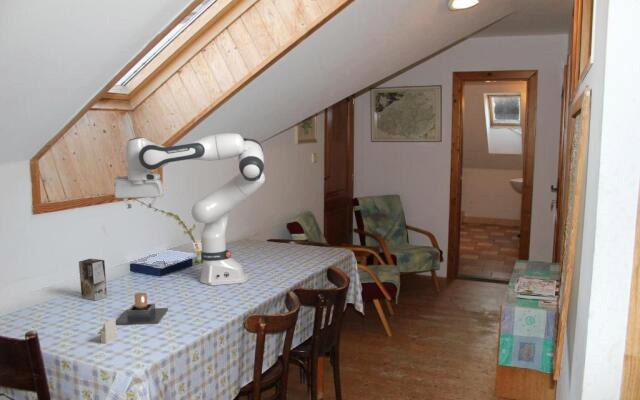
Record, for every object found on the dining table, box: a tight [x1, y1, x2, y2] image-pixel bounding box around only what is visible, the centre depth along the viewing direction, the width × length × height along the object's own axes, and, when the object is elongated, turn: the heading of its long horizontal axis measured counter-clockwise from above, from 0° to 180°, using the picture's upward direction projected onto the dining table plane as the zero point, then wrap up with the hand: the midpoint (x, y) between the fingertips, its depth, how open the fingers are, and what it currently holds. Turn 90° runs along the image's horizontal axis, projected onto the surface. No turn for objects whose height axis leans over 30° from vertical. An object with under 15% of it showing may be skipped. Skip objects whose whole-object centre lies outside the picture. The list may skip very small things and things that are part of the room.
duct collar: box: [115, 303, 169, 326], centre depth 211 cm, size 16×16×4 cm
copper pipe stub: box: [134, 292, 148, 310], centre depth 211 cm, size 4×4×8 cm
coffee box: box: [78, 258, 108, 301], centre depth 238 cm, size 9×6×16 cm
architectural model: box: [96, 317, 118, 345], centre depth 188 cm, size 3×7×7 cm, turn 165°
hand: (140, 208), depth 241 cm, fingers open, 8 cm apart
